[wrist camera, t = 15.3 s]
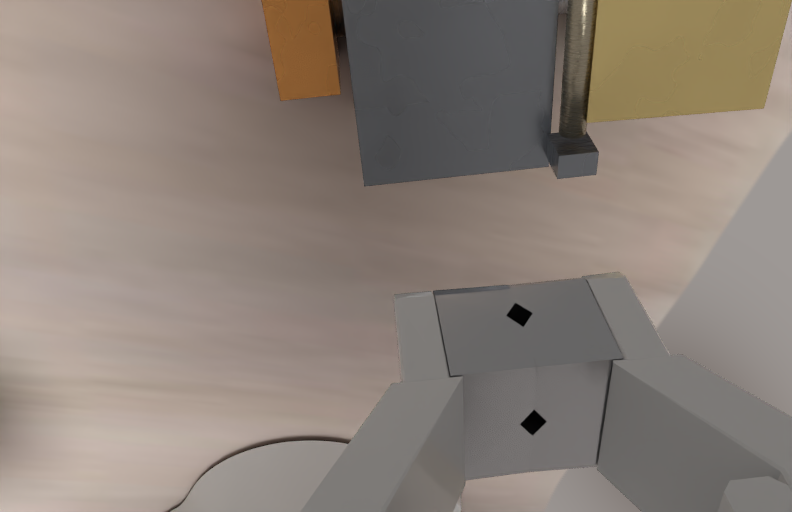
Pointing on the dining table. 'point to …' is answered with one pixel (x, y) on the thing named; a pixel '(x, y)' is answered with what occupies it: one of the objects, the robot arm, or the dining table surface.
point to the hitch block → (457, 89)
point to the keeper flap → (666, 58)
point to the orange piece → (310, 45)
